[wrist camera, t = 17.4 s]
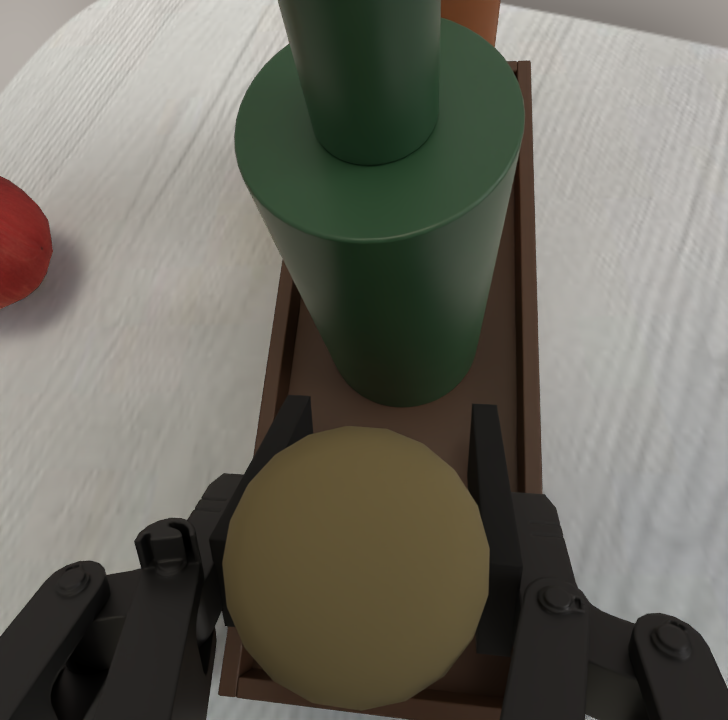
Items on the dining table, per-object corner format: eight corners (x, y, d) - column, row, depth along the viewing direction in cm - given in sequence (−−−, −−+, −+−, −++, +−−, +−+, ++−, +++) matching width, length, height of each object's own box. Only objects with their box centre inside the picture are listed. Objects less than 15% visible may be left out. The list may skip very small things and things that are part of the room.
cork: (399, 440, 21) (369, 324, 11) (512, 571, 19) (607, 585, 9) (274, 545, 20) (111, 529, 10) (378, 694, 18) (308, 869, 8)
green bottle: (478, 273, 23) (583, -365, 7) (476, 411, 21) (619, -46, 5) (338, 271, 24) (151, -306, 8) (323, 404, 22) (35, -10, 6)
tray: (523, 96, 27) (530, 59, 25) (537, 718, 18) (549, 738, 16) (318, 102, 28) (310, 67, 26) (239, 681, 19) (217, 695, 17)
